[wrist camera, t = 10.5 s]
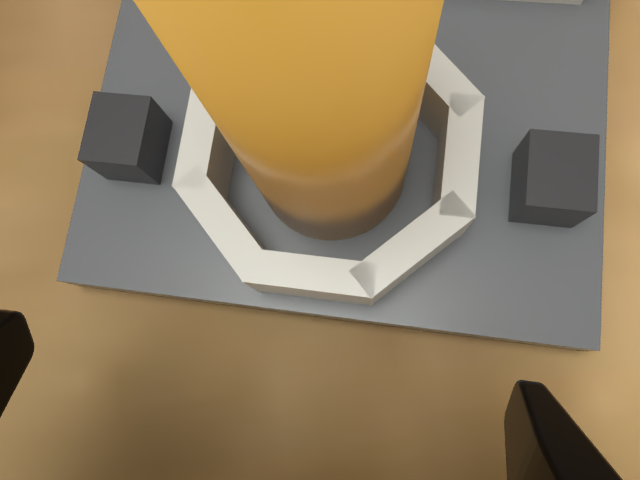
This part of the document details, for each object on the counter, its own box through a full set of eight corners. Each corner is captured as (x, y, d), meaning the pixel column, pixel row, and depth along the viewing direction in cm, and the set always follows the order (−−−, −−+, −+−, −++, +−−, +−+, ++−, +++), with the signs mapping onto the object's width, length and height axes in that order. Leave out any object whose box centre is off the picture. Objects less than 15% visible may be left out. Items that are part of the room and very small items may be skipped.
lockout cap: (416, 228, 18) (527, -46, 5) (269, 250, 18) (62, 35, 6) (392, 92, 19) (441, -389, 7) (253, 114, 19) (53, -308, 7)
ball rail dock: (580, 350, 18) (739, 349, 10) (79, 285, 20) (-99, 244, 12) (594, -38, 21) (726, -262, 13) (156, -60, 23) (51, -267, 15)
